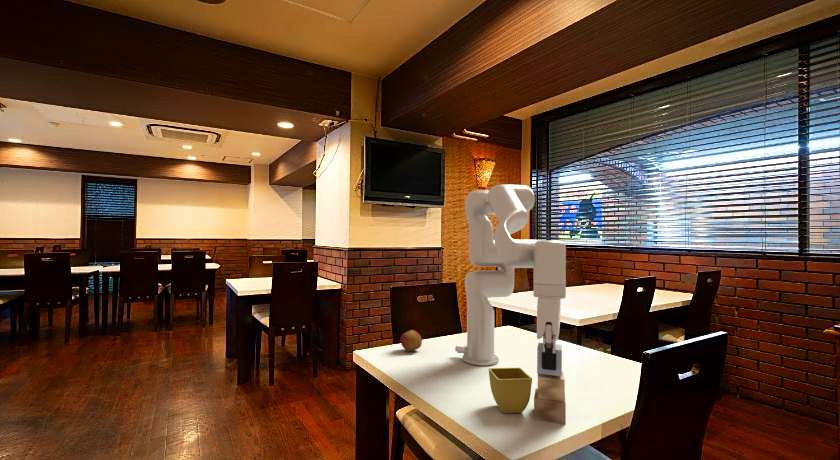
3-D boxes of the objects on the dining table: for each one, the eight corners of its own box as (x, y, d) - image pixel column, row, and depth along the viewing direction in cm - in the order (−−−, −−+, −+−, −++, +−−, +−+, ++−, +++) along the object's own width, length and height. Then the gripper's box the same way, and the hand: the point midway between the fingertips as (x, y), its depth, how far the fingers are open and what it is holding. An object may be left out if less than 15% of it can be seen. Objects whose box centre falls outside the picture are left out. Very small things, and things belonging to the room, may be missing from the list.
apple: (411, 347, 154) (411, 326, 154) (425, 351, 148) (425, 330, 148) (396, 350, 148) (396, 329, 149) (410, 355, 142) (410, 333, 143)
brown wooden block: (534, 420, 92) (534, 398, 92) (535, 408, 99) (535, 388, 99) (565, 424, 90) (565, 402, 90) (565, 412, 96) (564, 391, 96)
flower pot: (487, 402, 101) (488, 367, 102) (520, 401, 102) (520, 366, 102) (497, 417, 93) (497, 379, 93) (532, 416, 93) (533, 378, 94)
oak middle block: (537, 398, 92) (537, 377, 92) (537, 389, 98) (537, 369, 98) (564, 401, 90) (564, 379, 91) (563, 392, 96) (563, 371, 96)
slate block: (537, 373, 93) (537, 347, 93) (538, 366, 98) (538, 342, 98) (561, 376, 91) (561, 350, 91) (561, 369, 96) (561, 344, 96)
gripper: (535, 286, 104) (535, 354, 104) (531, 294, 88) (530, 374, 88) (565, 287, 102) (565, 357, 101) (566, 296, 86) (566, 379, 85)
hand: (549, 364), depth 94 cm, fingers open, 5 cm apart
